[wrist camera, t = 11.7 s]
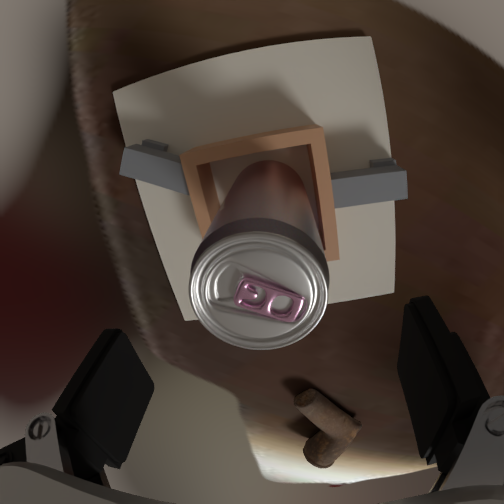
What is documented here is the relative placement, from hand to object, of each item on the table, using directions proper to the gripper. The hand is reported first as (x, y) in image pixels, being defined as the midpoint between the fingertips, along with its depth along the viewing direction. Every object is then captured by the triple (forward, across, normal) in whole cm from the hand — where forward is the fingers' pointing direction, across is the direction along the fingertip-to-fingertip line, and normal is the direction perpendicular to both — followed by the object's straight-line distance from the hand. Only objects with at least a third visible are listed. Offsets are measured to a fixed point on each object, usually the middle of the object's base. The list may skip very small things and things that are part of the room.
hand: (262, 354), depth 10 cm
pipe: (+20, -1, +34) cm, 39 cm away
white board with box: (+19, +1, 0) cm, 19 cm away
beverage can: (+18, +1, 0) cm, 18 cm away
